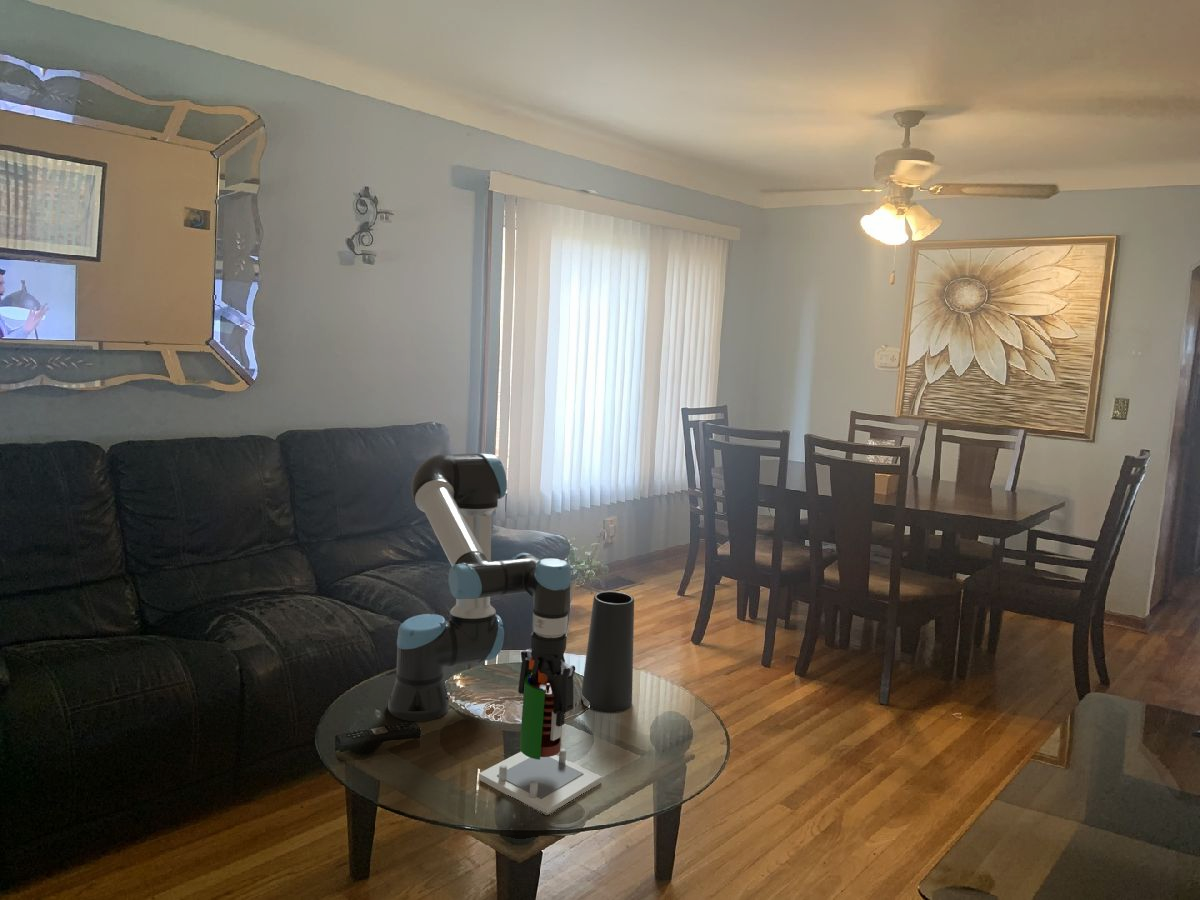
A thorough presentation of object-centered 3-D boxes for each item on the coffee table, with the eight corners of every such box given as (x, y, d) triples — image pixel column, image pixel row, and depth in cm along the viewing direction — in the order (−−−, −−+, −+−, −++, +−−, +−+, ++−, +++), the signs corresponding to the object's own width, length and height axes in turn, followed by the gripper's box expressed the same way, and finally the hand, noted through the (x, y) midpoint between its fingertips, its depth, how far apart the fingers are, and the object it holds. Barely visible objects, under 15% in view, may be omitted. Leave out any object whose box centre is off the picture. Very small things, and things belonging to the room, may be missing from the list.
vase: (632, 714, 230) (640, 608, 225) (579, 711, 230) (587, 604, 225) (631, 692, 243) (639, 590, 238) (581, 688, 243) (588, 587, 238)
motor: (553, 762, 188) (559, 673, 185) (513, 755, 190) (518, 667, 187) (565, 740, 198) (571, 655, 195) (527, 733, 200) (532, 649, 197)
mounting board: (478, 779, 194) (479, 760, 193) (534, 750, 208) (535, 732, 207) (547, 816, 182) (548, 796, 181) (601, 782, 196) (602, 764, 195)
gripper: (504, 623, 192) (499, 723, 196) (573, 649, 181) (566, 754, 184) (527, 615, 198) (522, 712, 202) (595, 640, 187) (588, 742, 190)
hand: (543, 732), depth 193 cm, fingers closed on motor, 6 cm apart
